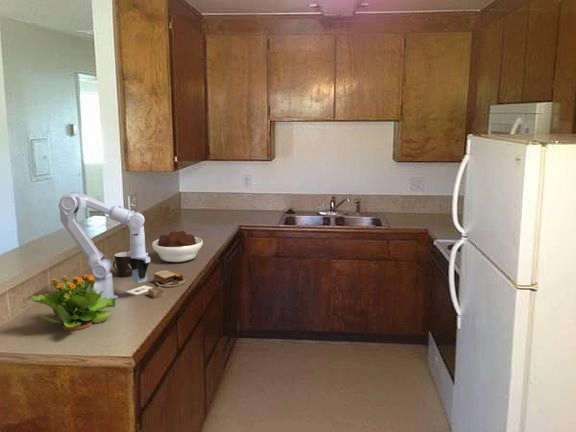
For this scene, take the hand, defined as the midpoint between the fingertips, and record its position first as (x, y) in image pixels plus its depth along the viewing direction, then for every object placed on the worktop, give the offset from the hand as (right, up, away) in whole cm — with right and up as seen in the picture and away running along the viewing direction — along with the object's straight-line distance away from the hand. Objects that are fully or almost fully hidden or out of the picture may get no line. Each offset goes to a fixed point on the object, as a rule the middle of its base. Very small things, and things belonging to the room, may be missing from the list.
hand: (139, 276), depth 212 cm
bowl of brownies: (+4, +2, +56) cm, 56 cm away
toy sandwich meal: (+8, -5, +18) cm, 20 cm away
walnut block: (+6, -8, +2) cm, 11 cm away
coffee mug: (-16, -3, +29) cm, 33 cm away
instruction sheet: (-2, -7, +9) cm, 11 cm away
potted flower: (-14, -14, -28) cm, 35 cm away
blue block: (0, -2, 0) cm, 2 cm away
